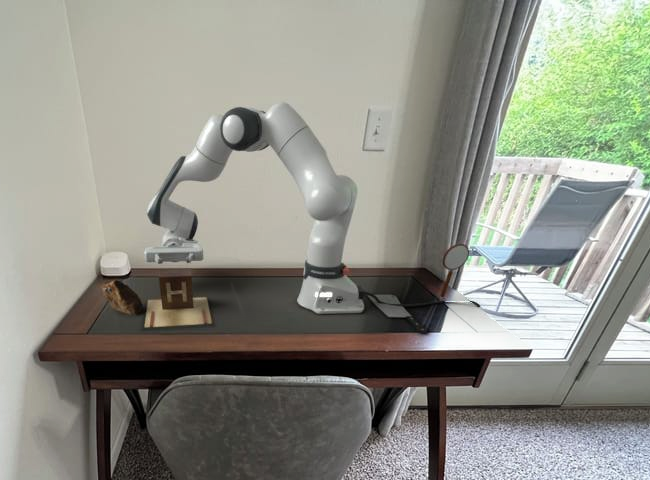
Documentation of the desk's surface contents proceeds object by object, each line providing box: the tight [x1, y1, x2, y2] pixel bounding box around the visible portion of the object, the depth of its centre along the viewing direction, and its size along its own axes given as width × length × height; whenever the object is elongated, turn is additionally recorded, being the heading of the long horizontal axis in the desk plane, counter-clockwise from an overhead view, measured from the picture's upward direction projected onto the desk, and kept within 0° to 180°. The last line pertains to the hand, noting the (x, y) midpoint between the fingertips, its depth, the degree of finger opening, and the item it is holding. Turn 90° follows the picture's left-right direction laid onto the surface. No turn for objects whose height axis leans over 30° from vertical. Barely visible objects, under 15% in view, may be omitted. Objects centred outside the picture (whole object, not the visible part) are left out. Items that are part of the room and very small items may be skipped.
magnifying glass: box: [439, 243, 470, 301], centre depth 120 cm, size 9×2×20 cm, turn 97°
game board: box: [144, 296, 213, 328], centre depth 114 cm, size 20×20×1 cm
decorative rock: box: [101, 279, 143, 316], centre depth 111 cm, size 12×6×11 cm, turn 66°
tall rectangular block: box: [158, 267, 194, 310], centre depth 114 cm, size 10×7×11 cm
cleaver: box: [366, 293, 428, 335], centre depth 116 cm, size 29×1×10 cm
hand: (174, 261), depth 118 cm, fingers open, 8 cm apart
